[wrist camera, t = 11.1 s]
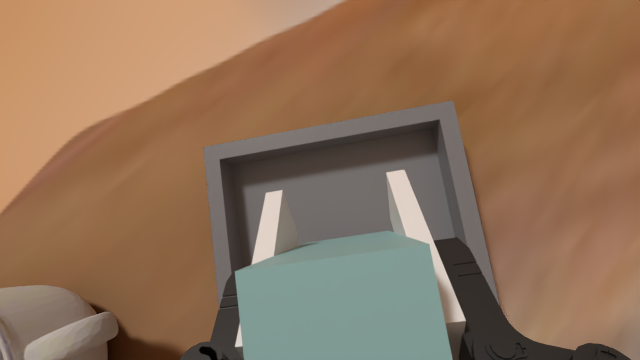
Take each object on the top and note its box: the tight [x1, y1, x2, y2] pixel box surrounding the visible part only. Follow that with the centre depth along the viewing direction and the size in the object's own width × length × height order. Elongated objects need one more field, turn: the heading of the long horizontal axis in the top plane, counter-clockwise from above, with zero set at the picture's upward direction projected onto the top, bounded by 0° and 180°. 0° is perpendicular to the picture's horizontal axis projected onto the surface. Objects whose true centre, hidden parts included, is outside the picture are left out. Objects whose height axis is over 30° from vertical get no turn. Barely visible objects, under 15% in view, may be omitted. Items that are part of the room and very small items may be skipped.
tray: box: [203, 101, 500, 310], centre depth 20 cm, size 16×18×3 cm
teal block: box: [235, 231, 453, 360], centre depth 12 cm, size 4×4×10 cm
